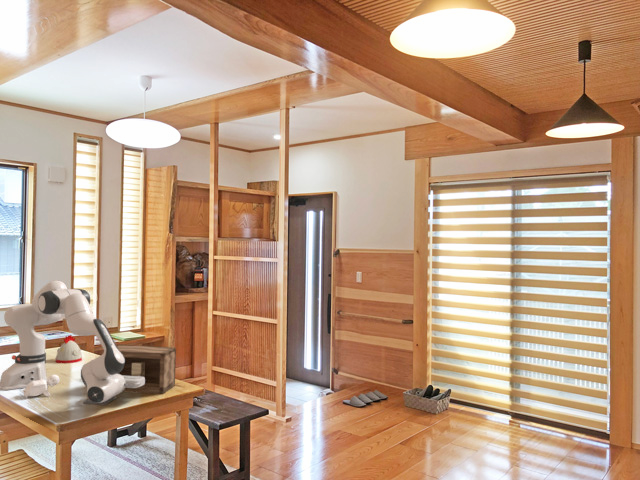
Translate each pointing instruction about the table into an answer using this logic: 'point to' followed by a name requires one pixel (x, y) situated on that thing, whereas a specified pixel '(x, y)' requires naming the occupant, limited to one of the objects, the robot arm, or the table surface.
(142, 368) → the beech block
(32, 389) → the white animal figurine
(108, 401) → the slate mat
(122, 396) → the table surface
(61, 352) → the kitchen timer
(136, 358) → the brown wooden box
